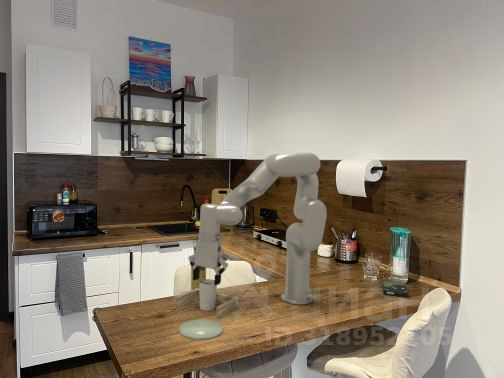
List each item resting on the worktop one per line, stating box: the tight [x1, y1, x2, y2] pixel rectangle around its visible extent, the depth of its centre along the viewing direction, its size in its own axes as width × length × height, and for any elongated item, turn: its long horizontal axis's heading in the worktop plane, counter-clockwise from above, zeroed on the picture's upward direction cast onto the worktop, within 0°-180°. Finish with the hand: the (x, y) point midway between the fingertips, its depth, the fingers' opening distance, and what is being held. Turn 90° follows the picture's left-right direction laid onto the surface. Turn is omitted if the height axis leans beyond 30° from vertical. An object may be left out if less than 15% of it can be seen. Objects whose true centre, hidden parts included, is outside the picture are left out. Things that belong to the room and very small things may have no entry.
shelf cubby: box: [174, 288, 239, 320], centre depth 152 cm, size 19×13×4 cm
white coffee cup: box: [199, 278, 218, 311], centre depth 152 cm, size 7×7×10 cm
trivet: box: [179, 319, 224, 341], centre depth 132 cm, size 14×14×1 cm
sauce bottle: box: [190, 245, 207, 291], centre depth 168 cm, size 6×6×20 cm
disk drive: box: [382, 280, 409, 299], centre depth 181 cm, size 10×3×15 cm
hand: (206, 282), depth 151 cm, fingers open, 9 cm apart
